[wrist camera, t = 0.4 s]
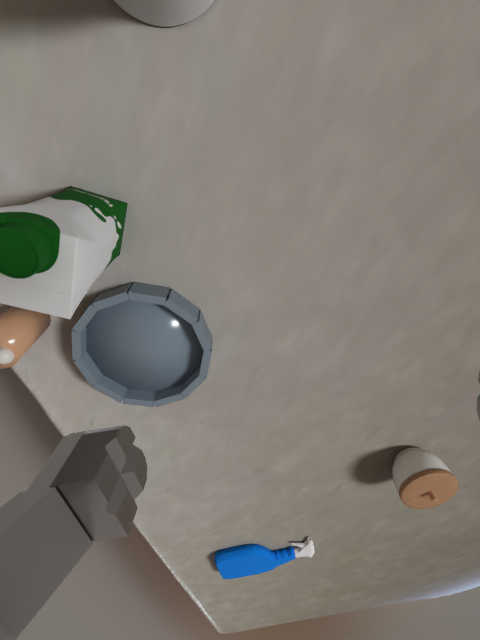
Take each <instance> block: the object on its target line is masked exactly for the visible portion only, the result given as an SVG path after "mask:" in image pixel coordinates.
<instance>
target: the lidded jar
mask: <svg viewBox="0 0 480 640" xmlns="http://www.w3.org/2000/svg"><path fill="white" fill-rule="evenodd" d="M392 476H393V480H394V484H395V486H396V489H397V491H398V493H399V496H400V498H401V500H402V502H403V503H404V504H405V505H406V506H408V507H411V508H415V509H426V508H432V507H435V506H438V505H440V504H443V503H444V502H446V501H448V500H449V499H450V498H452V497H453V496H454V495H455V493H456V492H457V490H458V480H457V479H456V477H455V476H454V475H453V474H452V473H451V471H450V470H449V468H448V467H447V466H446V465H445V463H444V462H443V461H442V460H441V459H440V458H438V457H437V456H436V455H434V454H433V453H431V452H429V451H426V450H422V449H420V448H417V447H411V448H407V449H404V450H402V451H401V452H399V453H398V454H397V456H396V457H395V461H394V464H393V467H392Z"/></svg>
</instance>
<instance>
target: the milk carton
mask: <svg viewBox="0 0 480 640" xmlns="http://www.w3.org/2000/svg"><path fill="white" fill-rule="evenodd" d="M126 210H127V203H125V202H122V201H119V200H115V199H112V198H109V197H105V196H102V195H99V194H95V193H92V192H89V191H86V190H82V189H79V188H76V187H72V186H70V187H68V188H66V189H65V190H63V191H61V192H59V193H57V194H54V195H51V196H48V197H45V198H43V199H40V200H37V201H34V202H31V203H28V204H24V205H16V206H7V207H0V303H1V304H6V305H10V306H14V307H19V308H23V309H27V310H32V311H36V312H40V313H45V314H49V315H53V316H58V317H62V318H66V319H71V317H72V315H73V313H74V312H75V310H76V309H77V307H78V306H79V304H80V302H81V301H82V299H83V298H84V296H85V294H86V293H87V291H88V290H89V288H90V287H91V285H92V284H93V282H94V281H95V280H96V279H97V278H98V277H99V276H100V275H101V273H102V272H103V271H104V270H105V269H106V268H107V266H108V265H109V264H110V263H111V262H112V261H113V260H114V259H115V258H116V257H117V256H119V255H120V249H121V243H122V236H123V230H124V223H125V217H126Z"/></svg>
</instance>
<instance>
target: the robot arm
mask: <svg viewBox="0 0 480 640" xmlns="http://www.w3.org/2000/svg"><path fill="white" fill-rule="evenodd" d="M113 1H114V2H115V3H116V4H117V5H119V6H120V7H121V8H122V9H123V10H124V11H126V12H127V13H128V14H130V15H131V16H133V17H135V18H136V19H138V20H140V21H143V22H145V23H148V24H151V25H155V26H162V27H170V26H178V25H182V24H185V23H187V22H189V21H192V20H193V19H195V18H197V17H198V16H200V15H201V14H202V13H203V12H204V11H206V10H207V9H208V8H209V7H210V5H211V4H212V3H213V2H214V0H113ZM478 382H479V383H480V371H479V379H478ZM477 413H478V416H479V420H480V395H479V396H478V397H477ZM134 440H135V436H134V434H133V432H132V430H131V428H130V427H128V426H125V425H124V426H117V427H110V428H103V429H96V430H89V431H84V432H78V433H71V434H69V435H67V436H65V437H64V438H63V439H62V441H61V442H60V443H59V445H58V446H57V448H56V449H55V451H54V452H53V454H52V455H51V456H50V458H49V459H48V461H47V462H46V464H45V465H44V467H43V468H42V469H41V471H40V473H39V474H38V475H37V477H36V478H35V480H34V481H33V483H32V484H31V485H30V487H29V488H28V490H27V491H24V492H20V493H18V494H17V495H16V496H14V498H12V499H11V500H9V501H8V502H7V503H5V504H4V505H3V506H2V507H0V640H17V639H16V638H17V637H18V636H19V635H20V633H21V632H22V631H23V630H24V628H25V627H26V626H27V625H28V623H29V622H30V621H31V620H32V618H33V617H34V616H35V615H36V614H37V612H38V611H39V610H40V609H41V607H42V606H43V605H44V604H45V602H46V601H47V600H48V599H49V597H50V596H51V595H52V594H53V592H54V591H55V590H56V589H57V587H58V586H59V585H60V584H61V583H62V581H63V580H64V579H65V578H66V576H67V575H68V574H69V573H70V571H71V570H72V569H73V568H74V566H75V565H76V564H77V563H78V562H79V560H80V559H81V558H82V557H83V555H84V554H85V553H86V552H87V550H88V549H89V548H90V547H91V545H92V544H93V543H92V542H93V541H99V540H106V539H112V538H119V537H125V536H128V534H129V532H130V529H131V526H132V523H133V520H134V517H135V514H136V511H137V505H136V503H135V500H134V499H135V498H136V497H137V496H138V495H139V494H140V493H141V492H142V491H143V489H144V486H145V483H146V480H147V464H146V459H145V456H144V454H143V452H142V450H141V449H139V448H137V447H136V446H134V445H133V442H134Z"/></svg>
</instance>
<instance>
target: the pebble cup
mask: <svg viewBox="0 0 480 640" xmlns="http://www.w3.org/2000/svg"><path fill="white" fill-rule="evenodd" d="M50 322H51V318H50V315H49V314H45V313H40V312H36V311H32V310H27V309H23V308H19V307H14V306H10V307H9V308H7V309H6V310H5V311H4V312H2V313H1V314H0V368H8V367H11V366H13V365H14V364H15V363H16V362H17V361H18V360H19V359H20V358H21V357H22V356H23V355H24V353H25V352H26V351H27V350H28V349H29V348H30V347H31V346H32V345H33V344H34V342H35V341H36V340H37V339H38V338H39V337H40V336H41V335H42V334H43V333H44V331H45V330H46V329H47V328H48V327H49V325H50Z"/></svg>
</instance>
